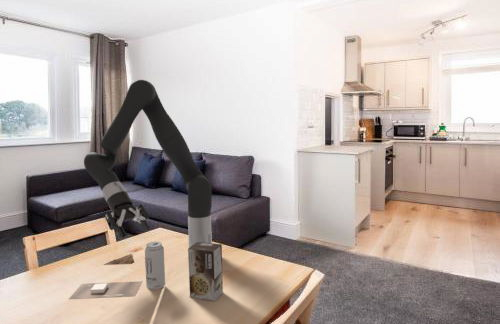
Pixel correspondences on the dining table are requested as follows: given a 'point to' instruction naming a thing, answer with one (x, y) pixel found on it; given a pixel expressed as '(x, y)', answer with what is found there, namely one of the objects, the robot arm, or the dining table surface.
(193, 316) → the dining table surface
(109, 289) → the walnut board
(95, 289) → the white square tile
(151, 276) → the energy drink can
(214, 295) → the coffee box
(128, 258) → the wooden fragment
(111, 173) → the robot arm
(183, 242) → the dining table surface
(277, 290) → the dining table surface
